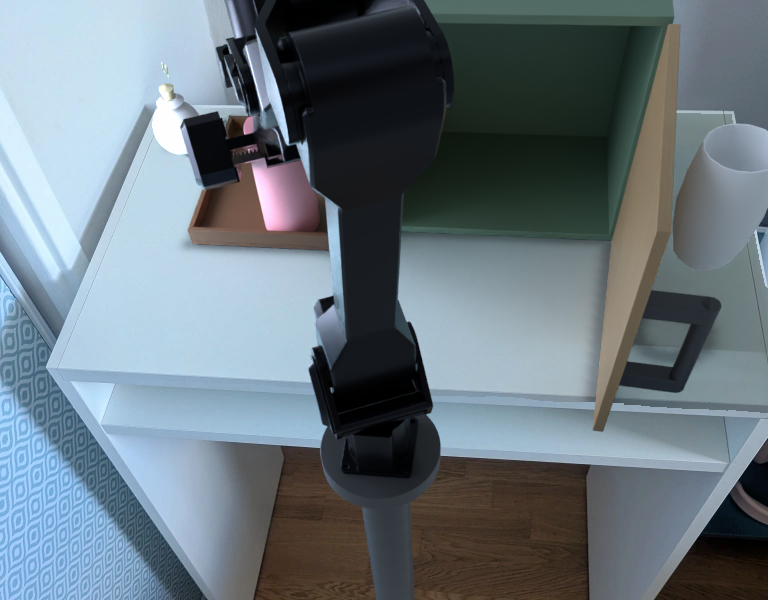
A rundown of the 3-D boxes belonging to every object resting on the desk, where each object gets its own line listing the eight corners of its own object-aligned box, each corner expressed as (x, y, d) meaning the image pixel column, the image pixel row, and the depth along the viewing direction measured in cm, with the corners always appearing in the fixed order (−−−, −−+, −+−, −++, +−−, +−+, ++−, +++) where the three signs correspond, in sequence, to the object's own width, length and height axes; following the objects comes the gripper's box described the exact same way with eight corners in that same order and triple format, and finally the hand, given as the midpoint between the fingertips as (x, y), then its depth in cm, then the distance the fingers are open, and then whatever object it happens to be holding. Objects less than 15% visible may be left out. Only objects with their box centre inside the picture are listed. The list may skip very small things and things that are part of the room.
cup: (640, 360, 76) (706, 180, 58) (628, 307, 79) (687, 121, 61) (714, 357, 76) (803, 175, 57) (698, 304, 79) (778, 116, 61)
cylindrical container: (329, 227, 87) (316, 130, 77) (279, 247, 86) (258, 152, 75) (305, 195, 90) (289, 98, 80) (256, 215, 89) (233, 118, 78)
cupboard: (615, 241, 84) (674, 16, 64) (386, 231, 87) (373, 12, 67) (611, 139, 93) (663, -88, 72) (404, 133, 96) (397, -87, 75)
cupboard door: (674, 250, 83) (753, 28, 63) (666, 441, 71) (761, 241, 51) (610, 244, 84) (668, 23, 64) (592, 430, 72) (656, 231, 52)
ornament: (160, 167, 95) (133, 89, 86) (162, 131, 99) (137, 52, 90) (208, 161, 95) (186, 83, 86) (209, 125, 99) (187, 46, 90)
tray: (338, 251, 86) (336, 236, 84) (191, 244, 88) (187, 230, 86) (364, 133, 96) (362, 118, 94) (232, 129, 98) (228, 115, 96)
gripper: (363, -10, 66) (342, 52, 81) (152, 37, 64) (170, 92, 79) (394, 127, 69) (368, 162, 84) (193, 175, 67) (203, 203, 82)
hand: (278, 153), depth 82 cm, fingers open, 9 cm apart
